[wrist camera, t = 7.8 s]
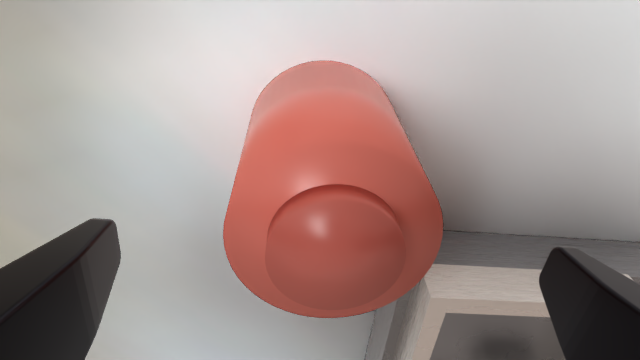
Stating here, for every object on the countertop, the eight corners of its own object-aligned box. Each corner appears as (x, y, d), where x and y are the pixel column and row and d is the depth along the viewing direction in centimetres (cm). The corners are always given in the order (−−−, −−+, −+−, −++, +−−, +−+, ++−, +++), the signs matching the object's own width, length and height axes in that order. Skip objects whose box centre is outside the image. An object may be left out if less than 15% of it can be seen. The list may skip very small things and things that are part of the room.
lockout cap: (407, 67, 13) (480, 166, 8) (381, 198, 15) (422, 342, 10) (251, 53, 13) (216, 147, 7) (248, 189, 15) (220, 334, 10)
